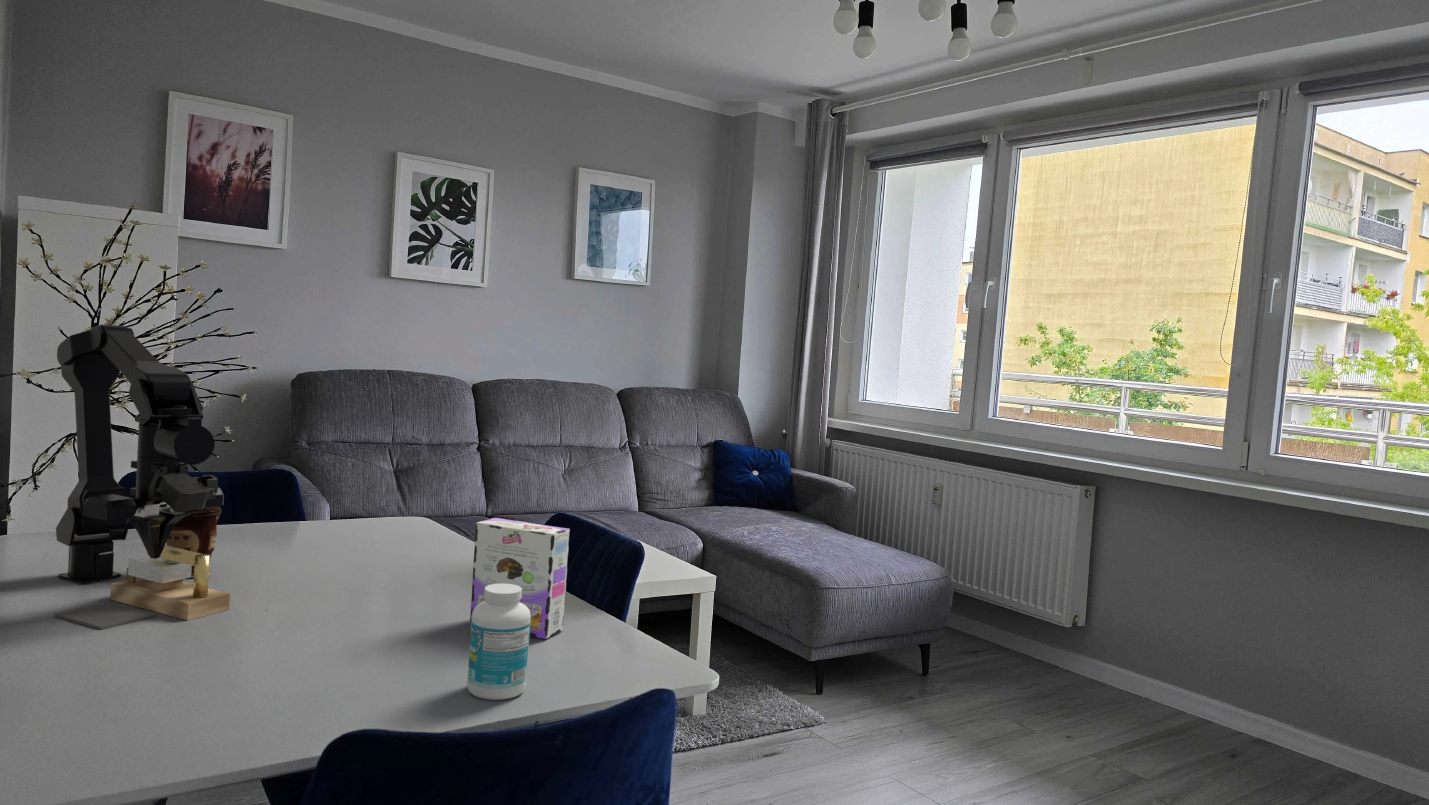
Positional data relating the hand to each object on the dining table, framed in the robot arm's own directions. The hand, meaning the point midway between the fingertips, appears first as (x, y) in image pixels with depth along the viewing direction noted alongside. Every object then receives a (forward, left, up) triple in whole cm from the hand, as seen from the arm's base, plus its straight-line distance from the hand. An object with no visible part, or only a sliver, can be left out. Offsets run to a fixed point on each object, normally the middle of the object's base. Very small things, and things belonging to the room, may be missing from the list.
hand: (154, 558), depth 142 cm
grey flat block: (-2, +3, -4) cm, 5 cm away
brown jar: (-12, +16, -8) cm, 21 cm away
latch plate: (+1, +3, -8) cm, 8 cm away
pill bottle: (+61, +3, -8) cm, 62 cm away
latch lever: (+2, +2, -5) cm, 6 cm away
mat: (-1, -6, -8) cm, 10 cm away
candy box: (+48, +26, -8) cm, 55 cm away
